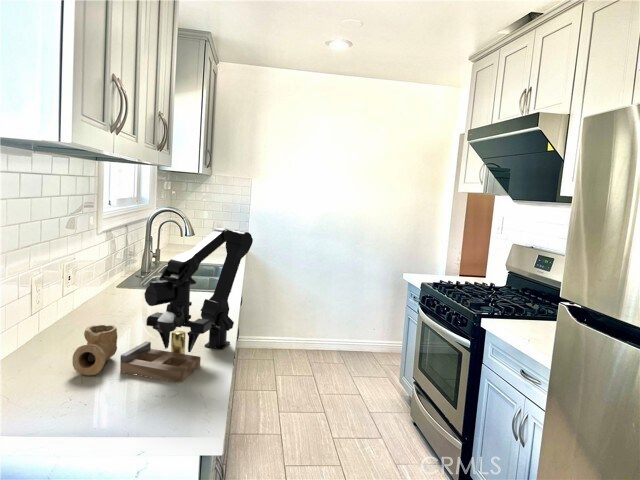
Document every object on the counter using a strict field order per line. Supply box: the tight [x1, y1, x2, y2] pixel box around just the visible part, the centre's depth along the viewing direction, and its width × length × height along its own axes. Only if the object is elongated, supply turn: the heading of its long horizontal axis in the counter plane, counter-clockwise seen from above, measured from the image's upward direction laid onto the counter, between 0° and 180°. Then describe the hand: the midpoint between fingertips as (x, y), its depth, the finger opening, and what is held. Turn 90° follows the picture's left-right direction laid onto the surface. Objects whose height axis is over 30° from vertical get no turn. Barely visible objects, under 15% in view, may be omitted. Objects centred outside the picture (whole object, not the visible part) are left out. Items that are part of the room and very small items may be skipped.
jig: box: [119, 340, 202, 383], centre depth 134 cm, size 12×18×5 cm, turn 77°
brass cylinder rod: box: [170, 330, 186, 354], centre depth 142 cm, size 4×4×8 cm
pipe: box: [72, 324, 118, 376], centre depth 133 cm, size 9×16×10 cm, turn 8°
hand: (178, 350), depth 143 cm, fingers open, 7 cm apart
